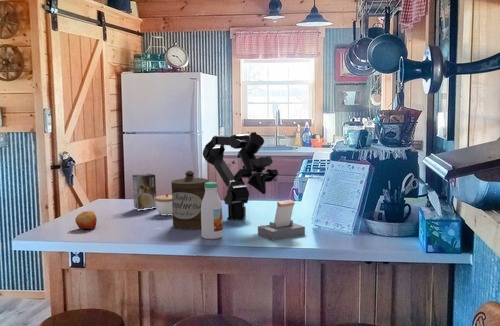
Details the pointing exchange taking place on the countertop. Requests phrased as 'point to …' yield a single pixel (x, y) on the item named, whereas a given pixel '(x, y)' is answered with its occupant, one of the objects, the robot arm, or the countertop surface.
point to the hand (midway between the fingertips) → (264, 193)
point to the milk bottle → (211, 213)
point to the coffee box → (144, 191)
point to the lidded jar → (164, 204)
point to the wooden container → (187, 201)
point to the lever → (283, 213)
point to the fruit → (86, 220)
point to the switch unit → (281, 231)
